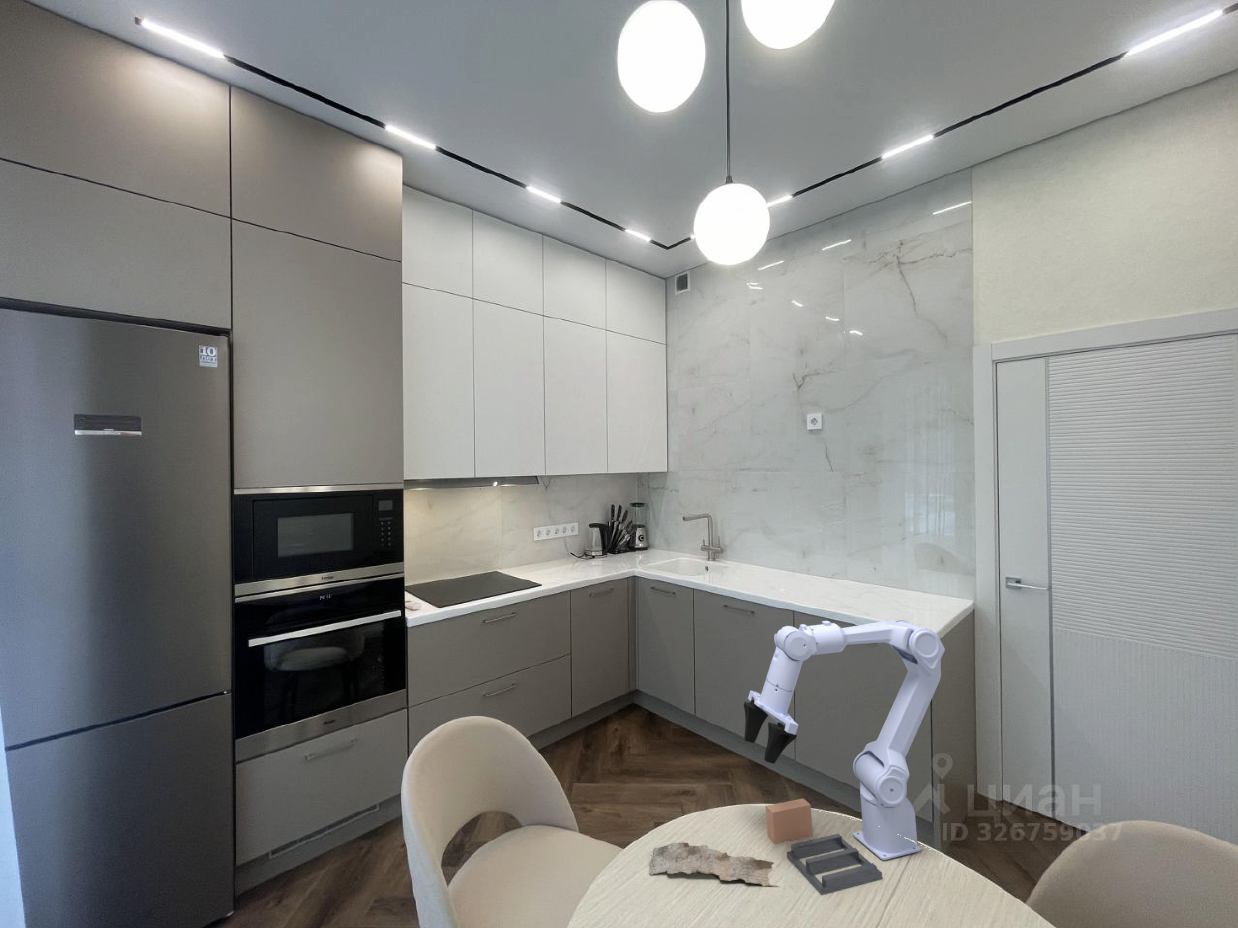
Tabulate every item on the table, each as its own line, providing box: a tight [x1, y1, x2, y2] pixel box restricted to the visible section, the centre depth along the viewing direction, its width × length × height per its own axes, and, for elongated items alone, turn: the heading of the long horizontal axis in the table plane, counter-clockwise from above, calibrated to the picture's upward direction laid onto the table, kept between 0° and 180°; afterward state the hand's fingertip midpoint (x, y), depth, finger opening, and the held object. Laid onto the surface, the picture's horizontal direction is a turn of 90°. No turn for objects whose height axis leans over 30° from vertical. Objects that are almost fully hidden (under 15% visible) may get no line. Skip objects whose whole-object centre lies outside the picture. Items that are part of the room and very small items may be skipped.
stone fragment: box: [648, 841, 779, 887], centre depth 93 cm, size 25×3×10 cm
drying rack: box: [786, 833, 883, 896], centre depth 92 cm, size 13×10×2 cm
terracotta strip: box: [765, 798, 813, 845], centre depth 102 cm, size 9×2×6 cm, turn 106°
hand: (758, 751), depth 100 cm, fingers open, 7 cm apart
